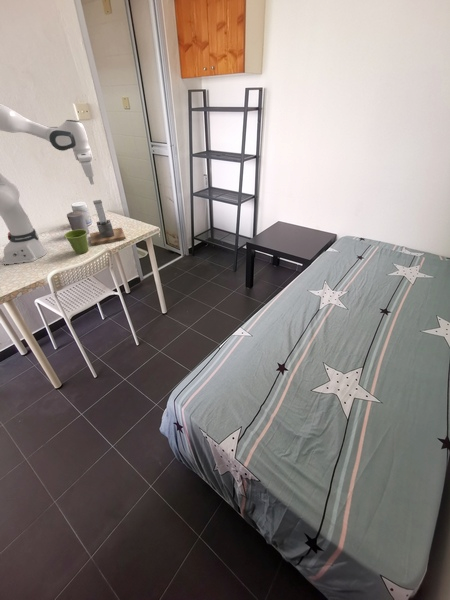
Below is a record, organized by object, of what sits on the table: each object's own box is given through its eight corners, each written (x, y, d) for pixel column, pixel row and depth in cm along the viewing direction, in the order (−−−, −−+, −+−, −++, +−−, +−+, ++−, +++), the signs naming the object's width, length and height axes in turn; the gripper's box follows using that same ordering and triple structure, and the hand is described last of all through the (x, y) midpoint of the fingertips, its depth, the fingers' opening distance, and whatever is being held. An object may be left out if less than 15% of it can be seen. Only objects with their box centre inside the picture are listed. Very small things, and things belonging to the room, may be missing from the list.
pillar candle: (73, 233, 188) (64, 211, 179) (88, 229, 192) (81, 208, 183) (74, 238, 182) (66, 215, 172) (90, 234, 185) (83, 212, 176)
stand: (92, 246, 171) (86, 229, 165) (90, 236, 183) (85, 220, 177) (126, 239, 178) (121, 223, 172) (122, 230, 190) (118, 215, 183)
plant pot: (69, 257, 160) (61, 238, 154) (73, 248, 170) (67, 230, 163) (91, 254, 162) (84, 236, 155) (94, 246, 171) (88, 228, 165)
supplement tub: (75, 225, 200) (68, 204, 191) (87, 221, 206) (81, 200, 197) (82, 228, 195) (75, 207, 186) (95, 224, 201) (88, 203, 192)
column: (103, 236, 177) (93, 203, 164) (102, 233, 180) (92, 200, 168) (111, 235, 178) (101, 201, 166) (110, 232, 182) (101, 199, 169)
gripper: (76, 153, 159) (84, 179, 167) (78, 158, 144) (86, 187, 152) (88, 151, 161) (96, 177, 169) (91, 157, 146) (99, 185, 154)
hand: (91, 182), depth 160 cm, fingers open, 8 cm apart
